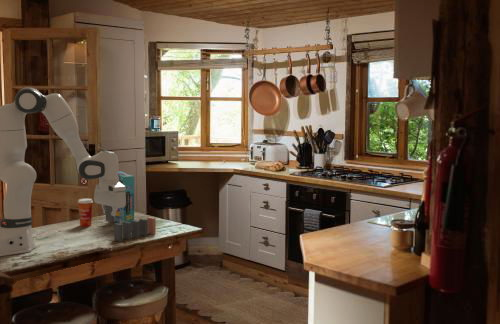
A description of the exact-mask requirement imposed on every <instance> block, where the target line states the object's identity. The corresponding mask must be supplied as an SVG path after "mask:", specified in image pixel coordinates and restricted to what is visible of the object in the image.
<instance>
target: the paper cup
mask: <svg viewBox="0 0 500 324" xmlns="http://www.w3.org/2000/svg"><path fill="white" fill-rule="evenodd" d="M77 203H78V215H79V226H80V227H81V228H87V227H92V217H93V203H94V200H93V199H92V198H79V199H78V201H77Z"/></svg>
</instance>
